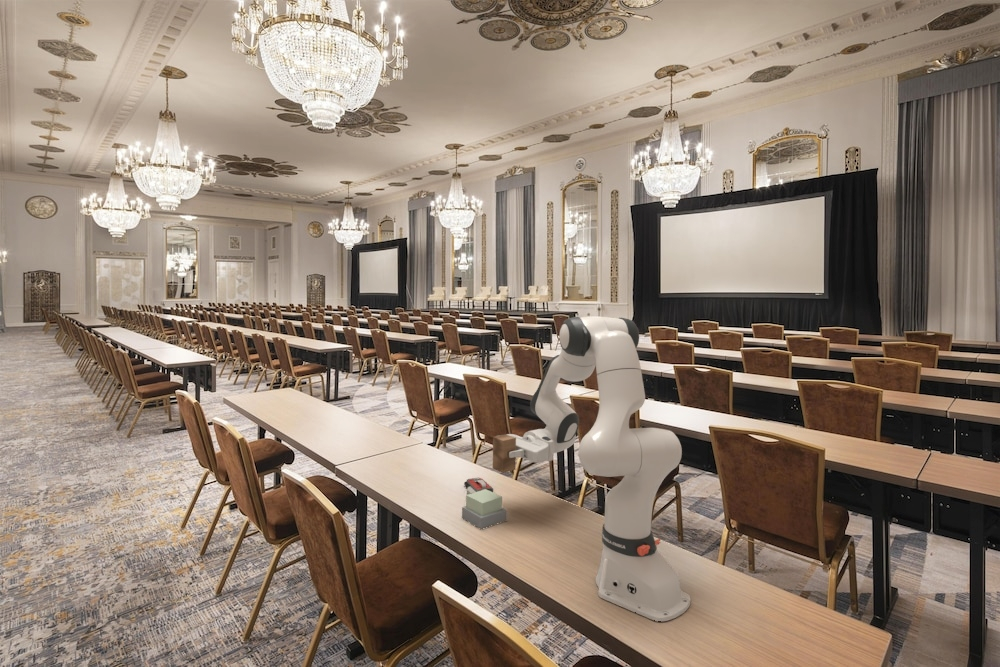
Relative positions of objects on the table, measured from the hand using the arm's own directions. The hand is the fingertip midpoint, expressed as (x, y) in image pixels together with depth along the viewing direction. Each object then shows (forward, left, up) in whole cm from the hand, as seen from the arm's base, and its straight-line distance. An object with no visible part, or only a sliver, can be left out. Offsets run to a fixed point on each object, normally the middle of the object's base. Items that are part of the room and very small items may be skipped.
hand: (501, 452), depth 159 cm
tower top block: (+5, +3, -19) cm, 20 cm away
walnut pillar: (0, -1, -5) cm, 6 cm away
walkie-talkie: (+21, -8, -23) cm, 33 cm away
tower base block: (+5, +3, -23) cm, 23 cm away
